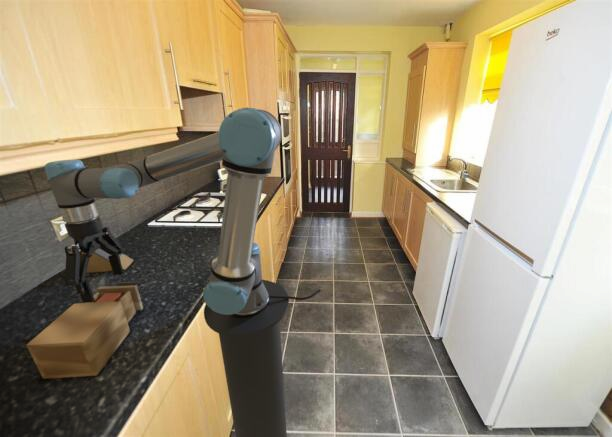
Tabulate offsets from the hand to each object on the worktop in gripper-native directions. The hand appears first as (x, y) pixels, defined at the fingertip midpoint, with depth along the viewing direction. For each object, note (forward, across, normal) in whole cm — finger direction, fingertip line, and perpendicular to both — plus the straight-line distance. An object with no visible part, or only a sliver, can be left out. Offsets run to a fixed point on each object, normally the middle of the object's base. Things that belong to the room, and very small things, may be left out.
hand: (105, 286), depth 79 cm
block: (+11, 0, 0) cm, 11 cm away
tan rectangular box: (+13, +12, 0) cm, 18 cm away
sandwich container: (+13, -36, -23) cm, 44 cm away
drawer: (+12, -1, 0) cm, 12 cm away
